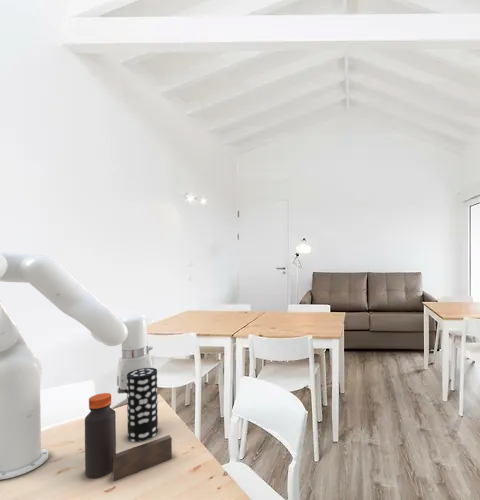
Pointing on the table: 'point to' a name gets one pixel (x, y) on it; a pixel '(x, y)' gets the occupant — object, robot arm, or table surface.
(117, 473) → the bar
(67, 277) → the robot arm
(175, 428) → the table surface
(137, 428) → the white-spotted black cylinder
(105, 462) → the bottle
